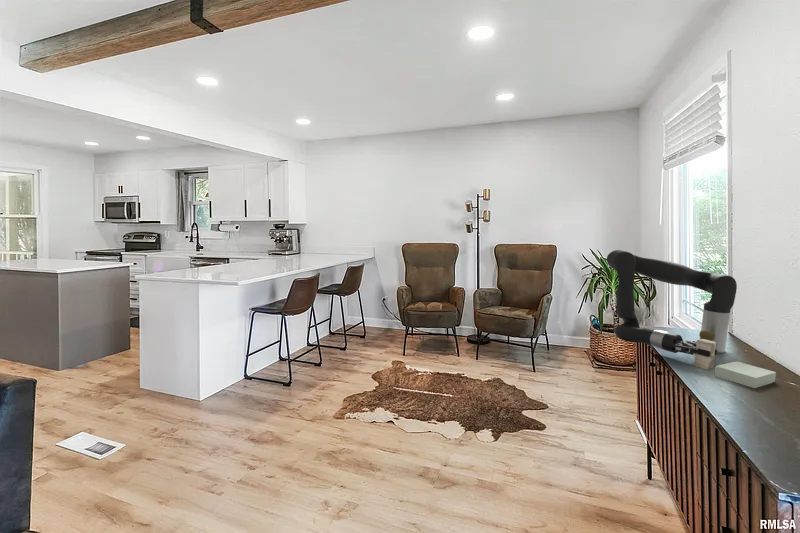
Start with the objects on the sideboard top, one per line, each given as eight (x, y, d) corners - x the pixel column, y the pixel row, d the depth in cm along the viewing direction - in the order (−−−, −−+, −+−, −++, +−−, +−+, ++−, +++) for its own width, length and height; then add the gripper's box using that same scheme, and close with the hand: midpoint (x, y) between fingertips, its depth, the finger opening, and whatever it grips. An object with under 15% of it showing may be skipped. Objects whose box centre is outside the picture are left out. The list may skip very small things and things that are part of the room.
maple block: (699, 363, 163) (702, 338, 161) (712, 367, 159) (716, 342, 158) (693, 365, 160) (696, 340, 159) (706, 369, 156) (710, 343, 155)
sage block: (734, 371, 157) (736, 361, 156) (774, 383, 146) (776, 372, 146) (714, 376, 150) (715, 366, 150) (754, 389, 140) (756, 377, 139)
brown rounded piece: (716, 360, 168) (720, 333, 167) (699, 358, 169) (703, 332, 168) (708, 355, 174) (712, 329, 173) (692, 354, 175) (695, 328, 174)
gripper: (657, 333, 167) (705, 346, 152) (676, 330, 174) (724, 341, 160) (654, 352, 168) (702, 365, 153) (674, 347, 175) (721, 360, 160)
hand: (713, 353), depth 157 cm, fingers closed on maple block, 4 cm apart
